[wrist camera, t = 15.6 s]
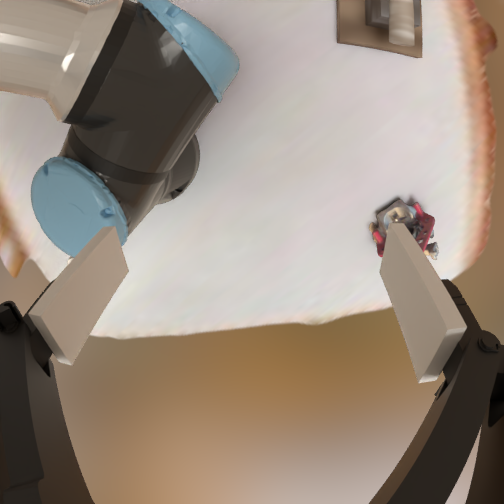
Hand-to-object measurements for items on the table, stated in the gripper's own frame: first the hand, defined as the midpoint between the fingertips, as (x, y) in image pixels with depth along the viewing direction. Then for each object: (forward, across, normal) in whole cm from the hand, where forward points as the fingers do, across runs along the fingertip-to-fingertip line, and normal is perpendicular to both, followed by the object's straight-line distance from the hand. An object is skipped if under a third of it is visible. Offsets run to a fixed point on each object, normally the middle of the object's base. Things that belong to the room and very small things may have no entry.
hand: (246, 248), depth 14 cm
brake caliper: (+31, -21, +15) cm, 41 cm away
